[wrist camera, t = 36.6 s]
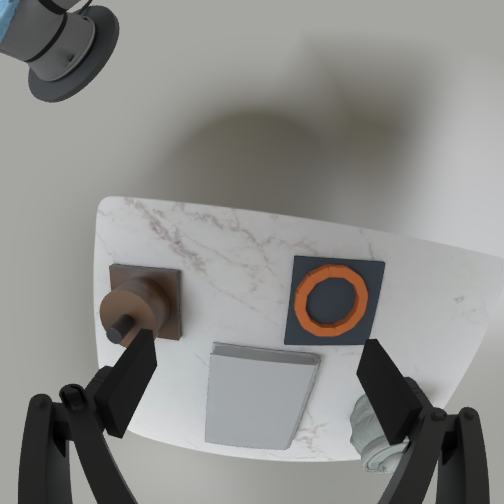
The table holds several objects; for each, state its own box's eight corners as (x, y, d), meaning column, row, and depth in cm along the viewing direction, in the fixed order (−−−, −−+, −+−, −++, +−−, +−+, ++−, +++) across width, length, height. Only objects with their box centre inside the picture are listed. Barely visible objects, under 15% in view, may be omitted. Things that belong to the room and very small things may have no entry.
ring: (298, 262, 41) (300, 264, 40) (369, 266, 41) (373, 269, 40) (290, 331, 44) (291, 335, 42) (356, 331, 44) (359, 336, 42)
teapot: (424, 390, 48) (461, 443, 30) (379, 432, 51) (403, 489, 33) (383, 367, 46) (423, 432, 28) (333, 416, 49) (353, 485, 31)
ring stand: (113, 263, 43) (71, 287, 31) (179, 269, 43) (151, 299, 30) (119, 326, 45) (86, 363, 33) (181, 336, 45) (159, 380, 33)
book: (204, 442, 47) (210, 354, 42) (206, 429, 51) (213, 341, 45) (291, 450, 47) (322, 365, 42) (289, 437, 51) (318, 353, 46)
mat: (294, 255, 42) (295, 256, 41) (383, 261, 42) (385, 262, 41) (284, 342, 45) (284, 344, 44) (365, 342, 45) (367, 344, 44)
